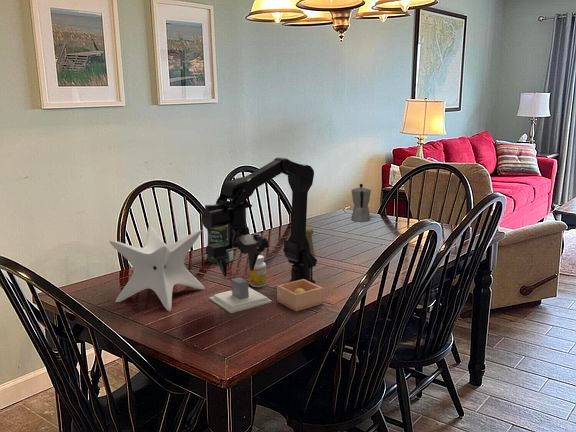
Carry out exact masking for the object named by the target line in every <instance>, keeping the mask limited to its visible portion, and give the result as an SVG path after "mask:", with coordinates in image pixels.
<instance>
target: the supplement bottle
mask: <svg viewBox="0 0 576 432" xmlns="http://www.w3.org/2000/svg"><path fill="white" fill-rule="evenodd" d="M264 259H265V256H264V255H261V254H259V256H258V258H257V261H256V264H255V267H254V270H253V271H251V270H250V269H249V279H250V280H249V282H250V283H249V284H250V286H251V287H254V288H263V287H265V286H267V264H266V262H264Z"/></svg>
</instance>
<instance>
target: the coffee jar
mask: <svg viewBox="0 0 576 432" xmlns="http://www.w3.org/2000/svg"><path fill="white" fill-rule="evenodd" d="M226 226H227V225H226ZM206 230H207V245H209V244H215V243H219V244H221V245H223V246H224V245H228V243H226V239H228V233H227V230H225V226H223V227H217V228H212V229H206ZM206 255H207V254H206ZM225 256H226V257H227V259H226V264H229V263H231V262H233V260H234V250H232V251H227V252H226V255H225ZM206 260H207V262H210V263H214V264H218V263H217V261H216V260H215V258H213V257H211V256H209V255H207V259H206Z"/></svg>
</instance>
